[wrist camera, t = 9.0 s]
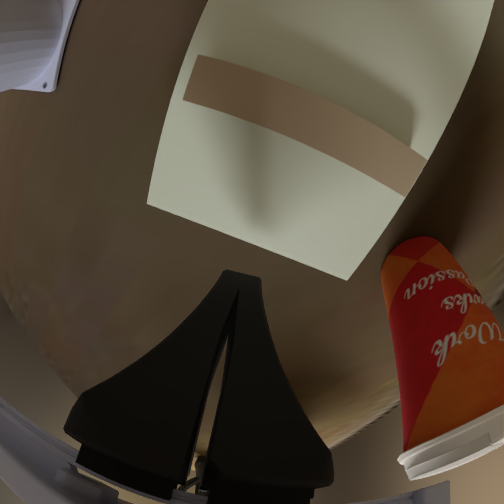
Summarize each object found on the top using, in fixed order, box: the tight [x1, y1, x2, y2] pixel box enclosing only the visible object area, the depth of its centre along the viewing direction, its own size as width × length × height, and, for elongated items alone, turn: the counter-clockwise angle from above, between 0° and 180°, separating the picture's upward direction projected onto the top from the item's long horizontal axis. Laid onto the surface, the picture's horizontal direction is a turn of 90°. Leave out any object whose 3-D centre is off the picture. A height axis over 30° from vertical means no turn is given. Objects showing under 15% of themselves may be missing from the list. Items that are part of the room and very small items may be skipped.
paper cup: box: [381, 236, 504, 480], centre depth 12 cm, size 8×8×14 cm
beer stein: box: [177, 456, 206, 496], centre depth 59 cm, size 16×19×25 cm
